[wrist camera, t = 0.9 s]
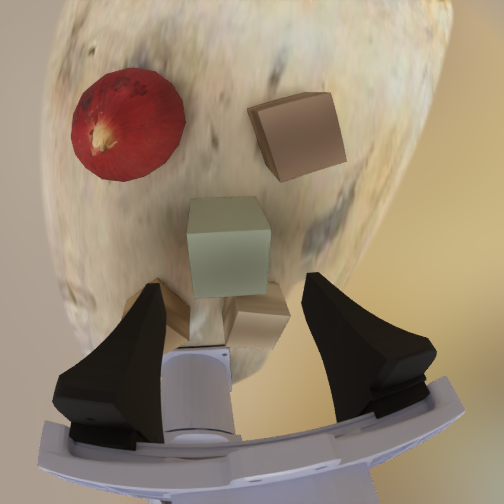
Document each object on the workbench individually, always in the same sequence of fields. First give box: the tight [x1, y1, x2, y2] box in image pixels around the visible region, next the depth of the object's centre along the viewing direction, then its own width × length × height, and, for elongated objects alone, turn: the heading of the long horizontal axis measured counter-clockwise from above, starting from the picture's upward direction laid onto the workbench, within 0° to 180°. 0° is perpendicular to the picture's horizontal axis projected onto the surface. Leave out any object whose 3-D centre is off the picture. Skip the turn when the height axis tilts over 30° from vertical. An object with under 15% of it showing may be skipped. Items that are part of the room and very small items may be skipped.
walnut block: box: [247, 92, 347, 183], centre depth 14 cm, size 4×4×4 cm
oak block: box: [122, 278, 190, 355], centre depth 21 cm, size 4×4×4 cm
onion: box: [71, 68, 186, 182], centre depth 11 cm, size 6×6×8 cm
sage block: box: [187, 196, 271, 299], centre depth 17 cm, size 4×4×5 cm
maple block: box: [222, 282, 291, 349], centre depth 22 cm, size 4×4×4 cm
